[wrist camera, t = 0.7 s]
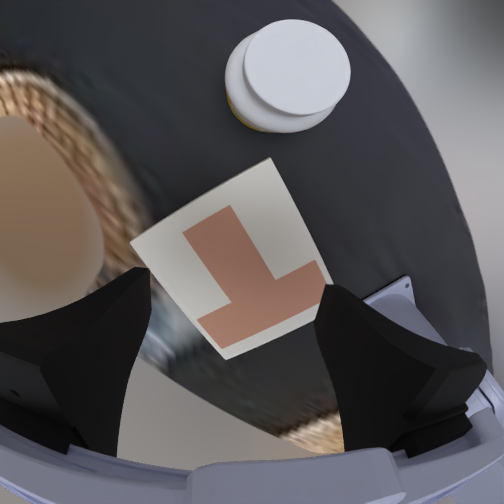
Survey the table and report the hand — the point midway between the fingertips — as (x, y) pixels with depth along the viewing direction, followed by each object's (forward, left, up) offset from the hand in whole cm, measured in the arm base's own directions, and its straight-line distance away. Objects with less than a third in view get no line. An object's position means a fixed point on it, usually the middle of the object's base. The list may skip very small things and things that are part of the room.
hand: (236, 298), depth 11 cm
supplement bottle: (+7, -6, -11) cm, 14 cm away
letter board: (-4, +2, -10) cm, 11 cm away
